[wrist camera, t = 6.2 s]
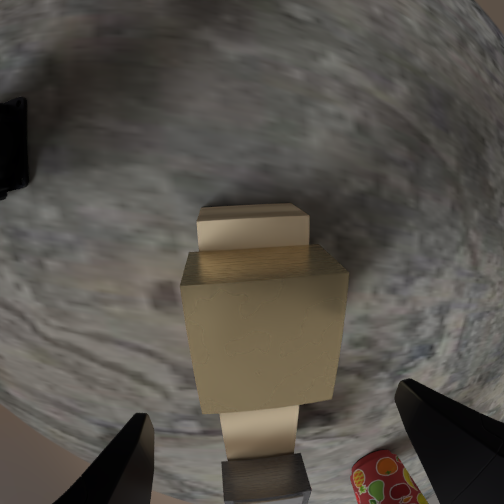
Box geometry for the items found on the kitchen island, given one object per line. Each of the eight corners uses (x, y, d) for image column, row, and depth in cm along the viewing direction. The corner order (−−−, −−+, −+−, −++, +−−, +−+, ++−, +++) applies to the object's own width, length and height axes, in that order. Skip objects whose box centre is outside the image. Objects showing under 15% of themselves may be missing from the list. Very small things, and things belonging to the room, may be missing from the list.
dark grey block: (221, 461, 20) (224, 504, 16) (300, 452, 20) (312, 493, 16) (224, 477, 21) (228, 516, 17) (297, 469, 21) (308, 506, 17)
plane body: (201, 207, 18) (196, 221, 14) (290, 202, 19) (309, 215, 15) (227, 441, 25) (230, 473, 21) (284, 435, 25) (291, 466, 22)
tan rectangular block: (188, 252, 15) (179, 285, 11) (318, 243, 15) (349, 272, 11) (203, 365, 17) (202, 414, 13) (311, 354, 17) (331, 398, 14)
